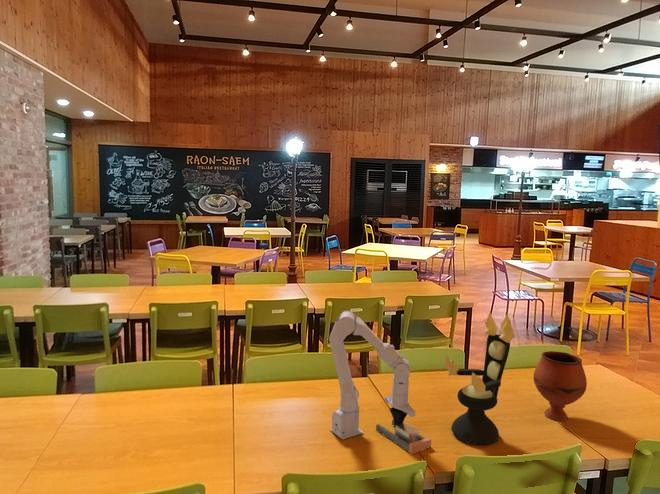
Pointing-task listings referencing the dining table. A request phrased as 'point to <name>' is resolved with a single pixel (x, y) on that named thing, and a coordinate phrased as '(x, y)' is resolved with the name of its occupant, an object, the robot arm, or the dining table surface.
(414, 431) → the lock block
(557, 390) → the goblet
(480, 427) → the spiked throne chair
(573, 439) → the dining table surface
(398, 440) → the guide rails
